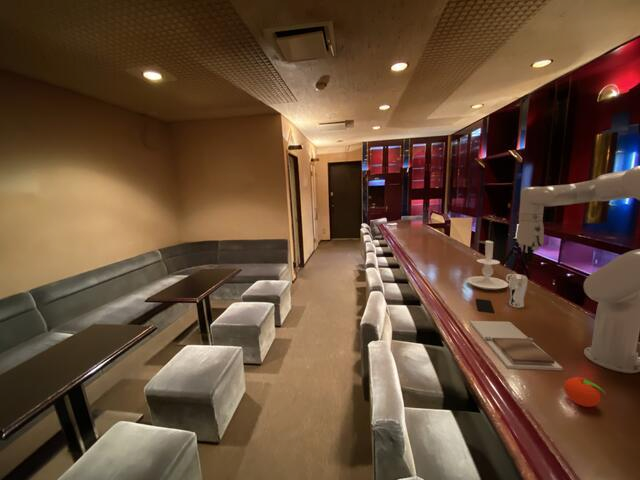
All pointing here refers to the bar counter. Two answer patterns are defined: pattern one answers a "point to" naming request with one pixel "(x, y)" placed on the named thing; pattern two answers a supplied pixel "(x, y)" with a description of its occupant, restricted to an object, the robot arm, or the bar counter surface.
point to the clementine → (582, 391)
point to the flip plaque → (522, 351)
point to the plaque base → (507, 331)
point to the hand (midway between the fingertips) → (526, 261)
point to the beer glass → (517, 290)
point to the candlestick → (488, 272)
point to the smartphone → (484, 306)
